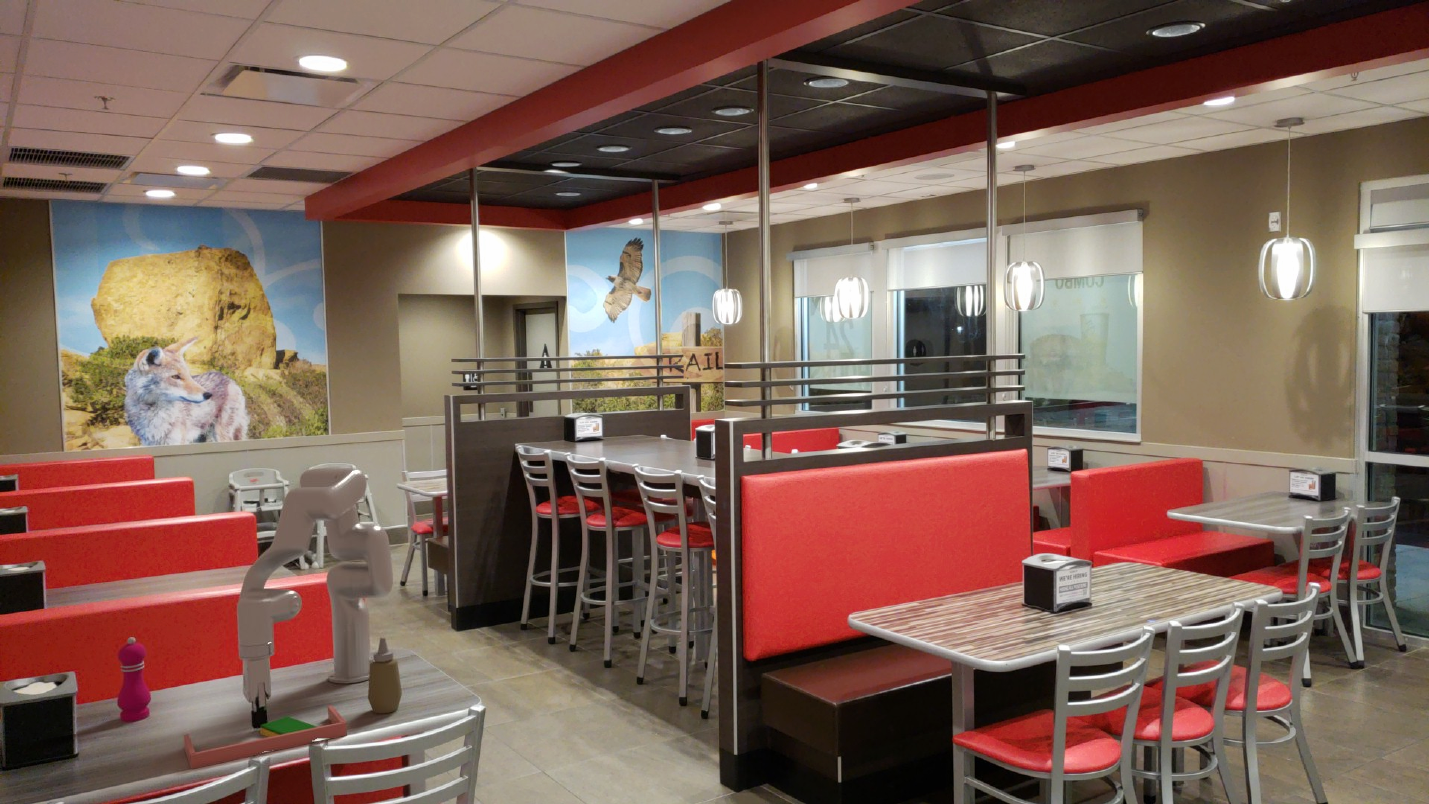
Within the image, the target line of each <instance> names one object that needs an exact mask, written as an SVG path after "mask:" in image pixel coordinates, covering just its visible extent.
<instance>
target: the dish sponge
mask: <svg viewBox="0 0 1429 804" xmlns="http://www.w3.org/2000/svg"><path fill="white" fill-rule="evenodd" d="M260 727H261V728H259V729H260V731H259V732H260V734H261V735H263V736H266V737H267V738H268V737H273V736H277V735H282V734H287V733H292V732H297V731H301V730H306V729H311V728H316V727H318V726H317V725H313V724H310V723H308V722H305V721H303V720H301V719H296V718H293V717H291V716H285V717H282V718H279V719H275V720H272V721H268V723H265V724H262V725H260Z"/></svg>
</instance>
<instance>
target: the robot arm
mask: <svg viewBox="0 0 1429 804" xmlns="http://www.w3.org/2000/svg"><path fill="white" fill-rule="evenodd" d="M367 485H368V482H367V478H366V475H365V474H364V472H362V471H361V470H360V469H357V468H331V467H329V468H328V467H327V468H326V467H325V468H320V467H319V468H310V469H308V470H305V471H304V472H303V473H301V475H300V478H299V486H300V487H297V488H293V489H291V490H290V491H288V492H287V493H286V495H285V497H284V501H283V504H282V507H281V511H280V515H279V518H278V521H277V526H276V530H275V533H274V537H273V540H272V543H271V544H270V547H268V548H267V549H266V550H265V551H264V552H263V553H261V555H259V557H258V558H257V559H256V560H255V561H254V563H253V564H252V565H251V566H250V567H249V569H248V570H247V572H246V574H245V576H244V579H243V582H242V586H241V589H240V593H239V598H238V601H237V604H236V605H237V606H236V615H237V618H236V619H237V636H238V637H237V639H238V659H240V660H242V693H243V696H244V698H245V700H246V701H247V702H248V703H249V704H250V703H251V710H250V712H251V727H252V729H253V730H256V729H260V728H261V727H260V725H262V724H265V723H268V722H269V721H268V708H267V700H270V698H271V696H272V684H271V683H272V679H271V663H270V657H272V656H274V655H275V644H274V643H275V640H274V639H275V638H274V636H275V635H274V624H276V623H281V622H286V621H289V620H292V619H293V618H295V617H296V616H297V615H298V614H299V612H300V611H301V609H302V606H303V601H302V597H301V595H300V594H299V593H298V592H297V591H295V590H292V589H289V588H265V586H266V584H267V581H268V579H269V578H270V576H271V575H272V574H273V573H274V572H275V571H276V570H278V569H280V568H281V567H283V566H284V565H286V564H288V563H290V562H292V561H294V560H297V559H300V558H301V557H303V556H304V555H306V554H307V553H308V552H309V549H310V546H311V545H310V544H311V541H312V537H313V533H314V529H315V525H316V523H317V521H318V522H319V521H324V524H325V531H326V540H327V546H328V547H327V548H328V551H329V554H330V556H331V557H332V558H335V559H338V560H349V561H347V562H339V563H336V564H334V565H333V566H331V567H330V568H329V571H328V572H327V575H326V588H327V591H328V595H329V600H330V606H331V607H330V608H331V622H332V623H331V625H332V645H333V646H332V648H333V651H332V652H333V669H334V671H331V672H330V673H329V674H328V681H329V682H331V683H334V684H354V683H359V682H364V681H365V682H366V681H369V673H370V664H371V663H372V662H373V661H374V657H372V656H371V655H372V654H371V636H370V635H371V634H370V632H371V630H370V628H371V627H370V611H369V608H368V605H367V604H366V602H365V600H364V599H380V598H384V597H386V596H388V595H389V594H390V593H391V591H392V588H393V583H394V573H393V564H392V562H393V561H392V556H391V555H392V554H391V547H390V546H391V545H390V540H389V536H388V533H387V531H386V530H385V528H383V527H382V526H381V525H378V524H362V523H360V519H359V513H358V507H357V503H358V502H359V501H360V500H361V499H362V497H364V495H365V494H366V490H367ZM350 560H351V561H352V560H353V562H351V561H350ZM354 560H355V562H354ZM357 560H358V561H357ZM362 560H363V561H365V562H359V561H362ZM356 561H357V562H356Z"/></svg>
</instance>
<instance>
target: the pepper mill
mask: <svg viewBox="0 0 1429 804" xmlns="http://www.w3.org/2000/svg"><path fill="white" fill-rule="evenodd" d="M126 642H127V644H124V645H123V646H122V647H120V649H119V650H118V653H117V659H118V661H119V663H121V664H120V668H121V669H120V671H121V672H122V674H123V676H122V677H123V681H122V684H121V688H120V690H119V693H118V696H117V698H116V699H117V703H116V706H117V707H118V708H119V709H120V710H121V711H120V712H119V720H120V721H121V722H123V723H129V722H131V723H132V722H137V721H142V720H145V719H147V718H148V717H150V707H149V706H148V705H149V704H150V702H151V700H152V696H151V692H150V690H149V688H148V686H147V684H146V682H145V680H144V675H143V669H144V668H145V662H144V659H145V658H146V655H147V649H146V648H145V646H144V645H143V644H141V643H138V642H136V638H135V637H132V636H131V637H128V639H127V640H126Z"/></svg>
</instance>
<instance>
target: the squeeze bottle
mask: <svg viewBox="0 0 1429 804" xmlns="http://www.w3.org/2000/svg"><path fill="white" fill-rule="evenodd" d="M373 659H374V661H373V662H372V663H371V664H370V673H369V679H368V691H367V699H368V702H369V705H370V707H371V709H372V712H373V713H375V714H388V713H389V714H390V713H392V712H395V711H397V710H399V705H400V702H401V698H402V694H403V692H402V684H401V676H400V671H399V670H400V669H399V663H398V660H396V659H395V658H394V651H393V650H389V647H388V643H387V639H386V637H380V638H379V644H378V649H377V651H376V652H374V653H373Z"/></svg>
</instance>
